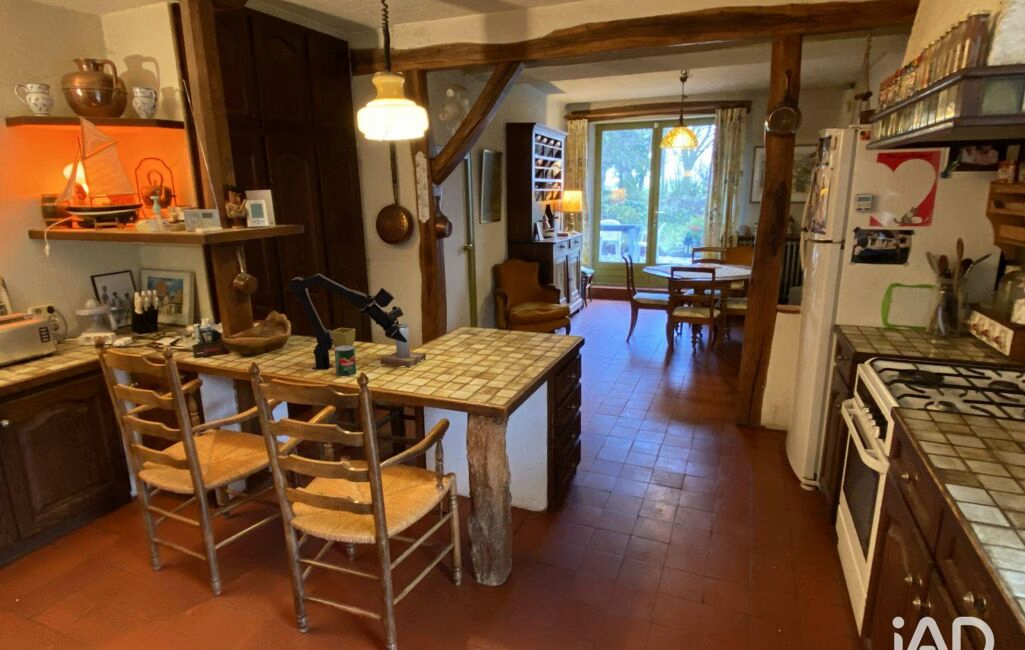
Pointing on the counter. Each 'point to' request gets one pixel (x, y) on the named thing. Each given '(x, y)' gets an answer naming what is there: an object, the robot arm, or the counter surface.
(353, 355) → the canned tomato
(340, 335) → the flower pot
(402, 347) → the grey can
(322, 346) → the robot arm
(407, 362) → the board
